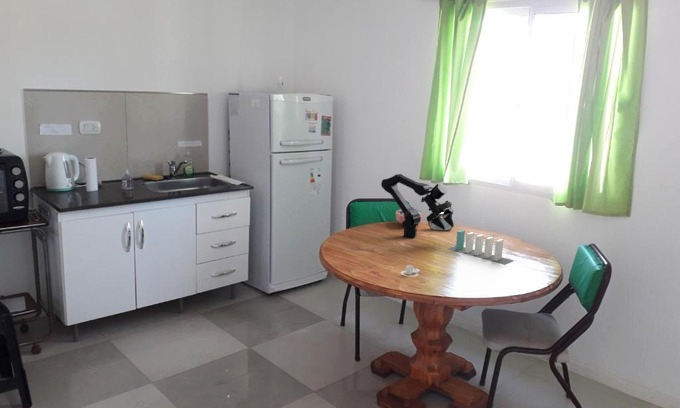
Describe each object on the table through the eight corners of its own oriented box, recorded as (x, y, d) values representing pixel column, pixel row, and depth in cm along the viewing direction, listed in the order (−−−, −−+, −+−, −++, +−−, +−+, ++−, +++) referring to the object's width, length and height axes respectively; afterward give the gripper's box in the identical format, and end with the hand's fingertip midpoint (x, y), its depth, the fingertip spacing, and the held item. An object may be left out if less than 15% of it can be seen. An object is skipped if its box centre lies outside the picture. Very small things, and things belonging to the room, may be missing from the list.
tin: (452, 230, 317) (453, 216, 315) (453, 231, 314) (454, 218, 312) (427, 228, 319) (428, 215, 317) (427, 230, 316) (428, 216, 314)
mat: (446, 249, 277) (447, 249, 277) (457, 246, 284) (457, 245, 284) (504, 265, 254) (504, 264, 254) (514, 261, 261) (514, 260, 261)
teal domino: (455, 249, 276) (457, 231, 274) (460, 248, 280) (462, 229, 277) (458, 250, 275) (459, 232, 273) (463, 248, 278) (465, 230, 276)
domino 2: (474, 254, 269) (475, 236, 266) (479, 252, 272) (480, 234, 270) (476, 255, 267) (478, 236, 265) (481, 253, 271) (483, 235, 269)
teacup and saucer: (418, 271, 243) (418, 263, 242) (421, 277, 236) (422, 269, 235) (399, 271, 243) (399, 263, 242) (402, 277, 235) (402, 268, 234)
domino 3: (483, 257, 265) (485, 238, 263) (488, 255, 268) (490, 236, 266) (486, 258, 264) (488, 239, 262) (491, 256, 267) (493, 237, 265)
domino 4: (493, 260, 261) (495, 240, 259) (498, 258, 265) (500, 239, 262) (496, 260, 260) (498, 241, 258) (501, 258, 264) (503, 239, 261)
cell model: (390, 227, 318) (391, 209, 316) (399, 220, 337) (400, 203, 334) (418, 231, 312) (419, 212, 310) (425, 223, 331) (426, 206, 328)
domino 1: (464, 252, 272) (466, 233, 270) (469, 250, 276) (471, 232, 274) (467, 253, 271) (469, 234, 269) (472, 251, 275) (474, 232, 273)
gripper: (432, 197, 274) (449, 222, 269) (452, 193, 287) (468, 217, 282) (419, 209, 281) (435, 234, 276) (439, 205, 294) (454, 228, 289)
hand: (448, 228), depth 280 cm, fingers open, 8 cm apart
